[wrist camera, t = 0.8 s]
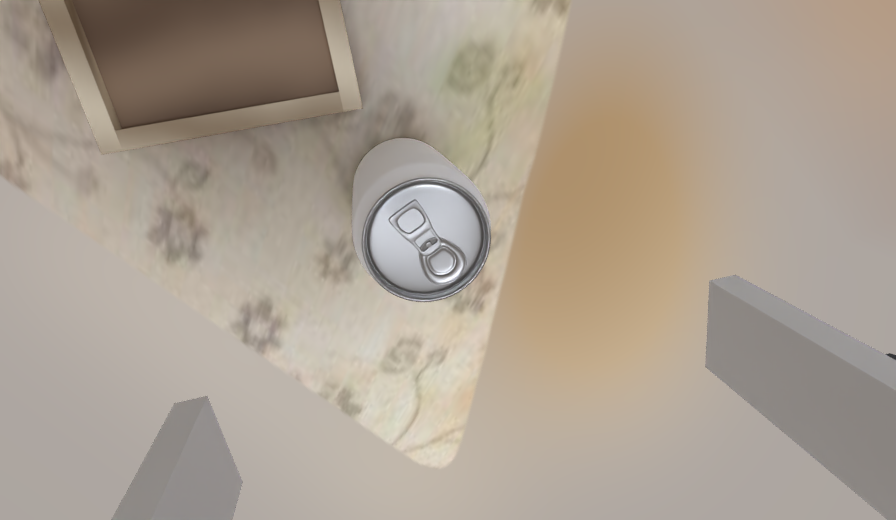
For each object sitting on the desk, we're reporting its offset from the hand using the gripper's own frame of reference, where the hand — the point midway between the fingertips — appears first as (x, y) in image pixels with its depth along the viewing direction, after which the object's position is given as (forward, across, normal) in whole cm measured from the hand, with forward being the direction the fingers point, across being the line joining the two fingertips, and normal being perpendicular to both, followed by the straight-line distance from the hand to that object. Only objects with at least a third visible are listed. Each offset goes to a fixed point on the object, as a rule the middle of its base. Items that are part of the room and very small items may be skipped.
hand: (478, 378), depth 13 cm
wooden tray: (+22, -8, +12) cm, 26 cm away
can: (+22, 0, 0) cm, 22 cm away
